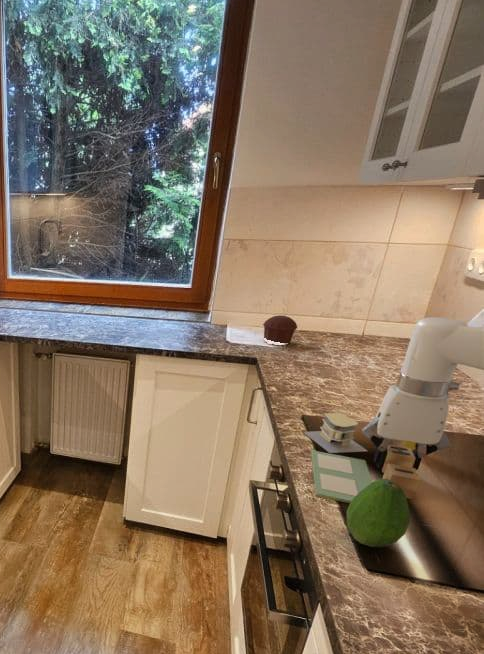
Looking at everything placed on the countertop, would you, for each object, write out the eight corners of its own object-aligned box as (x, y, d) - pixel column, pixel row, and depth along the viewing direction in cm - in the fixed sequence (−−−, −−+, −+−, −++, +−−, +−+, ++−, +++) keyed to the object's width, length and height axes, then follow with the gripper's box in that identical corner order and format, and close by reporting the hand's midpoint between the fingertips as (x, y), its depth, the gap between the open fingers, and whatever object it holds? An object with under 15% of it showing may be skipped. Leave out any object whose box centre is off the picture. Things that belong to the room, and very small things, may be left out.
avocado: (343, 550, 75) (365, 487, 70) (336, 522, 81) (356, 462, 76) (403, 565, 72) (430, 500, 67) (391, 534, 78) (415, 473, 73)
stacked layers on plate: (302, 432, 112) (308, 411, 110) (338, 430, 113) (344, 409, 110) (329, 453, 103) (336, 430, 101) (368, 451, 103) (375, 429, 101)
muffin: (283, 338, 184) (289, 312, 179) (299, 346, 174) (306, 320, 169) (254, 338, 183) (259, 313, 179) (268, 347, 173) (274, 320, 169)
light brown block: (404, 466, 96) (411, 447, 94) (408, 477, 93) (416, 457, 91) (378, 462, 98) (384, 443, 96) (382, 472, 95) (388, 452, 93)
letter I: (407, 487, 91) (415, 467, 89) (412, 499, 87) (421, 479, 85) (380, 482, 93) (387, 462, 91) (384, 493, 89) (392, 473, 87)
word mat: (364, 462, 99) (365, 459, 99) (378, 509, 84) (379, 506, 84) (311, 452, 103) (311, 449, 103) (315, 495, 88) (316, 492, 88)
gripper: (473, 384, 88) (440, 468, 95) (365, 372, 94) (343, 452, 102) (487, 399, 81) (451, 487, 89) (371, 385, 88) (347, 468, 96)
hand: (393, 468), depth 95 cm, fingers closed on light brown block, 4 cm apart
